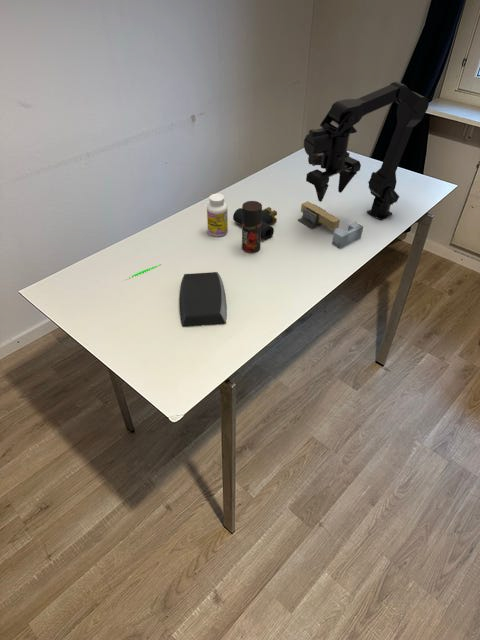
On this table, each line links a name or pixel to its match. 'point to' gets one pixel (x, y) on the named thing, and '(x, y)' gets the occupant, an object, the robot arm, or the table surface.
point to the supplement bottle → (217, 215)
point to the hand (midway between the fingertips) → (330, 196)
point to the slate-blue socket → (347, 235)
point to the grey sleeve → (309, 219)
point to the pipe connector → (267, 220)
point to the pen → (144, 271)
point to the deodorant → (251, 226)
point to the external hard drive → (202, 300)
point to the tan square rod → (322, 215)
